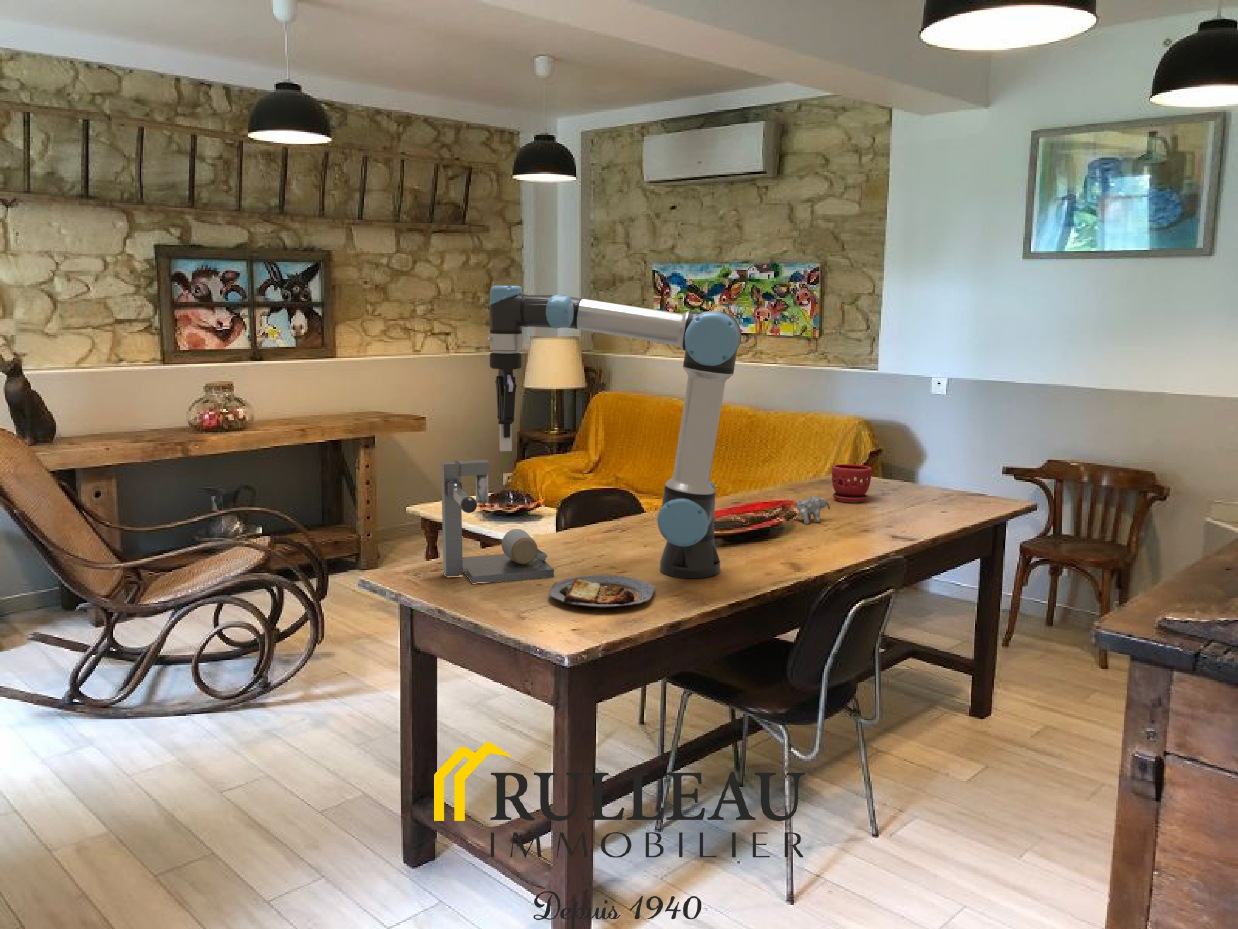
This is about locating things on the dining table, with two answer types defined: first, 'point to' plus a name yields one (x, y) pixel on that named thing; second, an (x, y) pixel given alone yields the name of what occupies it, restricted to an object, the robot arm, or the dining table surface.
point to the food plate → (588, 590)
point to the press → (453, 562)
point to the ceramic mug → (521, 547)
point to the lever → (461, 497)
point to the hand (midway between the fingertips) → (505, 450)
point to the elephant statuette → (811, 508)
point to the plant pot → (851, 482)
